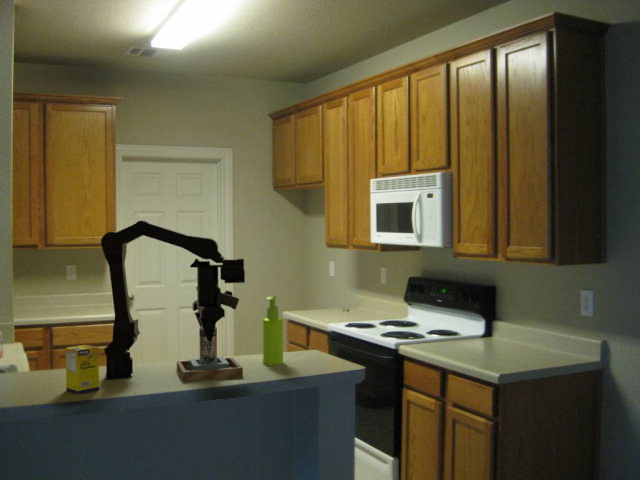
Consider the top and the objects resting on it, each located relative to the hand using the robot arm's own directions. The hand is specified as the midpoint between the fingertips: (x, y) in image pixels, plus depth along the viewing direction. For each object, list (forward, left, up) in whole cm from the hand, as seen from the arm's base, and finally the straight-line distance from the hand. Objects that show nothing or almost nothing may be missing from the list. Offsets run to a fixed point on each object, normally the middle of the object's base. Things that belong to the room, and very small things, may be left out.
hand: (208, 339), depth 190 cm
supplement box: (-33, -8, -10) cm, 35 cm away
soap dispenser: (+20, +7, -10) cm, 23 cm away
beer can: (0, 0, -8) cm, 8 cm away
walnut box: (0, 0, -10) cm, 10 cm away
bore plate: (0, 0, -10) cm, 10 cm away
